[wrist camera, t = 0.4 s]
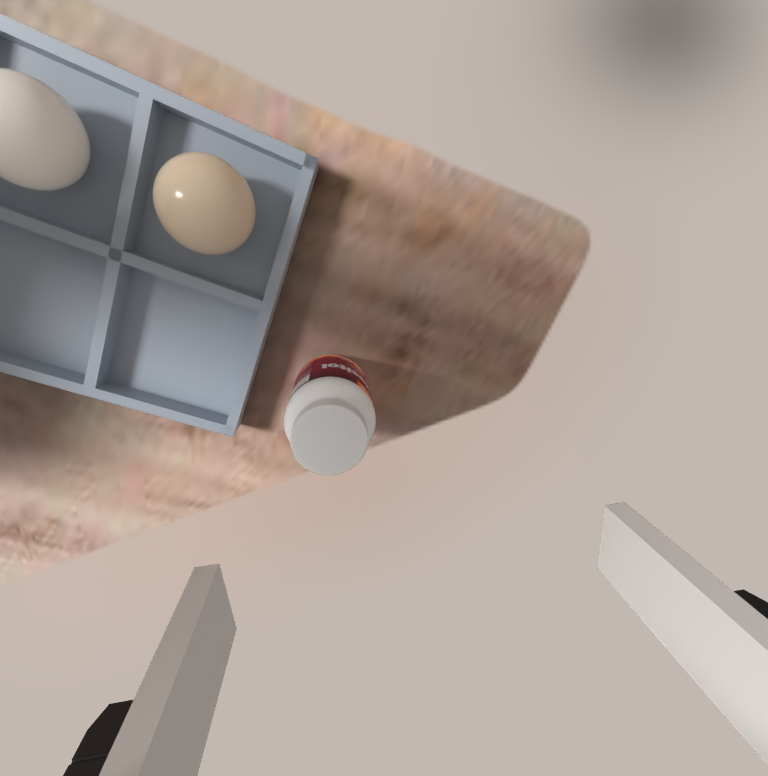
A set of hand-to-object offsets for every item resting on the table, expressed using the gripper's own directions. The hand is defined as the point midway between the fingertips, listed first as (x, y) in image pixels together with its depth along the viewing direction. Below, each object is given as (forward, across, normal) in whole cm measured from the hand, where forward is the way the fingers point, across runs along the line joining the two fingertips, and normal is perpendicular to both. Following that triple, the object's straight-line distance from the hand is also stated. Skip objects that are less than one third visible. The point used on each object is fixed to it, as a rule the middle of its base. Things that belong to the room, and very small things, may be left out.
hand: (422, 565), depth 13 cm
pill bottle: (+22, -3, 0) cm, 22 cm away
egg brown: (+21, -10, +14) cm, 27 cm away
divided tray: (+22, -16, +12) cm, 30 cm away
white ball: (+21, -19, +19) cm, 34 cm away
